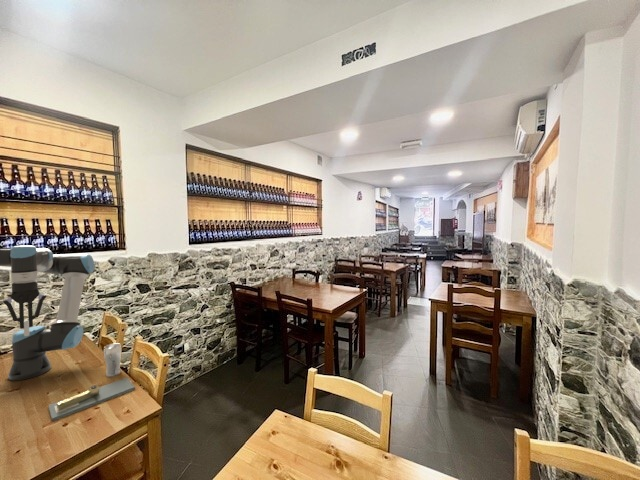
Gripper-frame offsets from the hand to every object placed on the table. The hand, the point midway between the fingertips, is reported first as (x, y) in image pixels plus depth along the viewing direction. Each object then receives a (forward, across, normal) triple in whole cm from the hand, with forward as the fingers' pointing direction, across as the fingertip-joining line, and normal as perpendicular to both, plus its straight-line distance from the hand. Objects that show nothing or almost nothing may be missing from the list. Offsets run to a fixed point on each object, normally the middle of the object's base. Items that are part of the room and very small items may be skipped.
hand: (26, 335), depth 117 cm
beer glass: (+30, +30, -1) cm, 42 cm away
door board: (+29, +19, -19) cm, 40 cm away
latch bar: (+28, +14, -20) cm, 37 cm away
